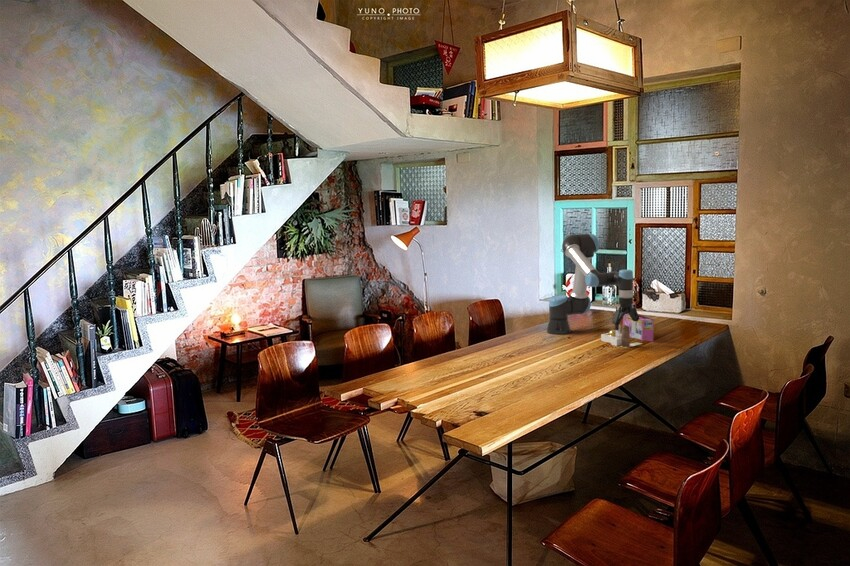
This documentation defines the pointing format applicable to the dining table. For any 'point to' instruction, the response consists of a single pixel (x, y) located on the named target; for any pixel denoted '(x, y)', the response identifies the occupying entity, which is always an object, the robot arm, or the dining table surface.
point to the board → (634, 344)
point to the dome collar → (609, 337)
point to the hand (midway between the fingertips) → (625, 334)
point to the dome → (612, 333)
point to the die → (616, 341)
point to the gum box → (641, 327)
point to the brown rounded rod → (625, 336)
